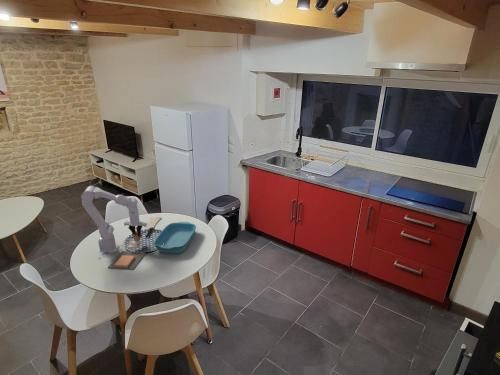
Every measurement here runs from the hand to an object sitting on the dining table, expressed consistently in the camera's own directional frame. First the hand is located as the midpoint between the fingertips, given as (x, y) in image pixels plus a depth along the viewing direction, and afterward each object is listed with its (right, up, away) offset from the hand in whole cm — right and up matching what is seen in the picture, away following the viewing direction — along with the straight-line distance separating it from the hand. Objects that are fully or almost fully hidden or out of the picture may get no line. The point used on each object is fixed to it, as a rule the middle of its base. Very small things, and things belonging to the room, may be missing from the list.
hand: (137, 235), depth 207 cm
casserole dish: (+24, -6, +8) cm, 26 cm away
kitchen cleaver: (0, +1, +28) cm, 28 cm away
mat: (-2, -14, -12) cm, 18 cm away
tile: (-2, -14, -15) cm, 21 cm away
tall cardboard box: (0, -4, 0) cm, 4 cm away
